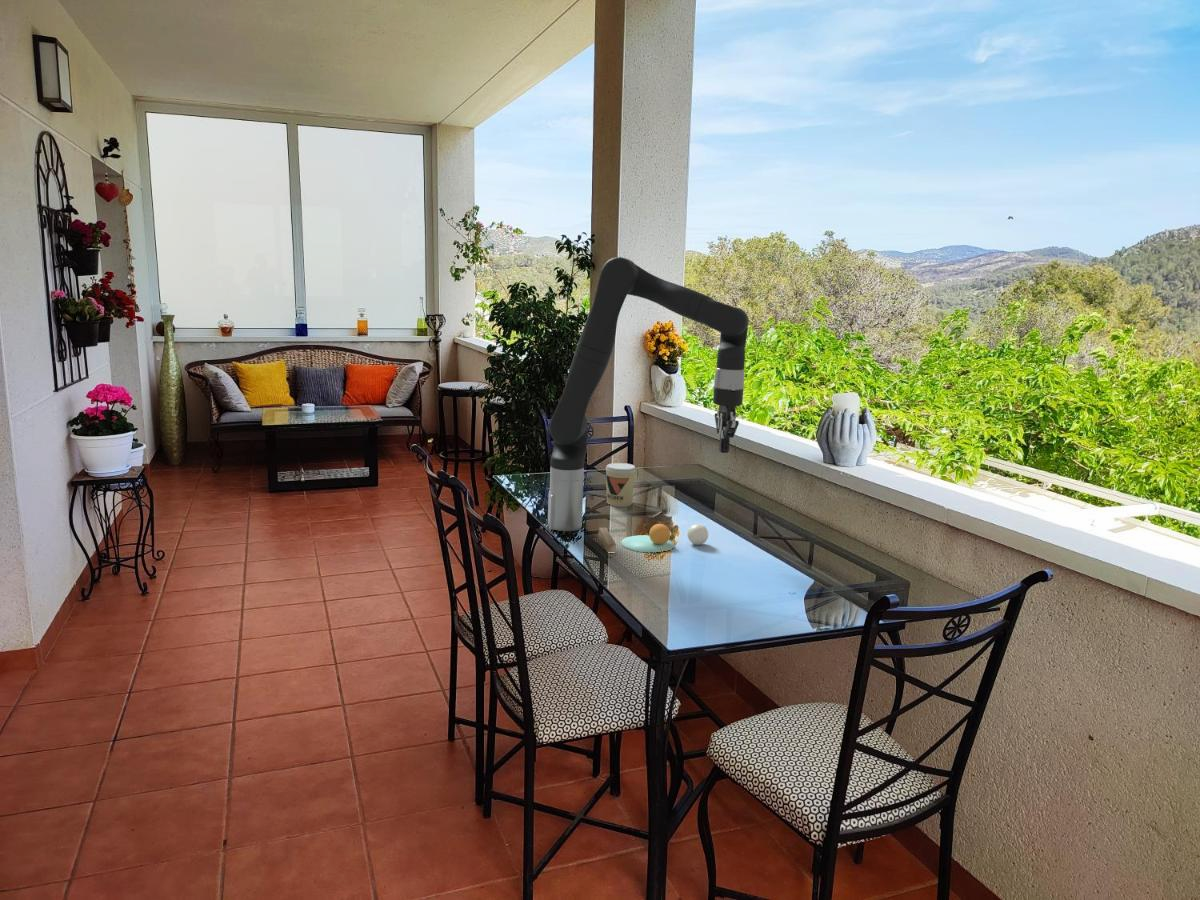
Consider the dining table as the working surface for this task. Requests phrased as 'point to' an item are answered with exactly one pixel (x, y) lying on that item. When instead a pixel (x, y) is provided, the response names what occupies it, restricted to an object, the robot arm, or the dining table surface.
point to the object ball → (659, 534)
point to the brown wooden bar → (607, 540)
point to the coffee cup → (620, 483)
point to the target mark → (645, 544)
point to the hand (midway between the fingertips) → (723, 452)
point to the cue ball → (697, 534)
